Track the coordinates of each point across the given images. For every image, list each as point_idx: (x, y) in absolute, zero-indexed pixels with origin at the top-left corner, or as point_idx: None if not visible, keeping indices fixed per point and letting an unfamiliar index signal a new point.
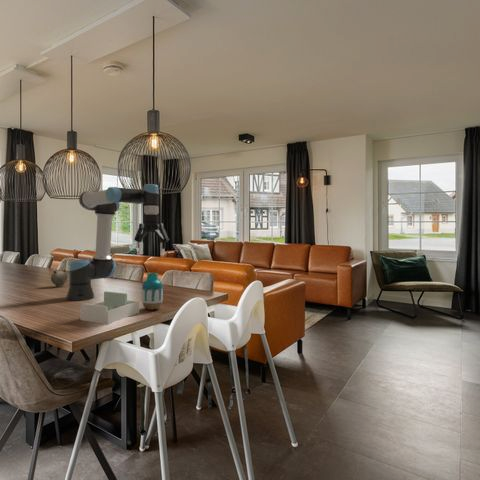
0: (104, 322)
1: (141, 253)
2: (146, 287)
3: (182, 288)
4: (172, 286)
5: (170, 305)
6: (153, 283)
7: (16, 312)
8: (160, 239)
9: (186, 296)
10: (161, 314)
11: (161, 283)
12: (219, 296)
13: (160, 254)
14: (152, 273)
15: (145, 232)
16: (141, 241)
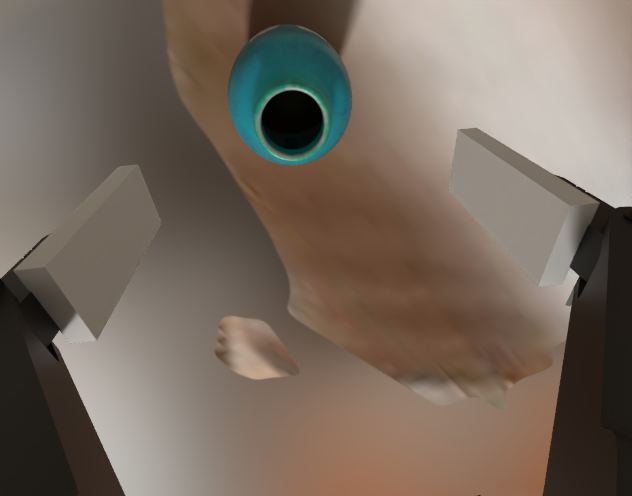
0: None
1: (457, 166)
2: (283, 30)
3: (405, 372)
4: (451, 376)
5: (273, 177)
6: (243, 63)
7: None
8: (2, 324)
9: (320, 306)
10: (177, 13)
11: (237, 131)
12: (226, 350)
13: (130, 168)
14: (312, 146)
15: (585, 457)
16: (574, 286)
